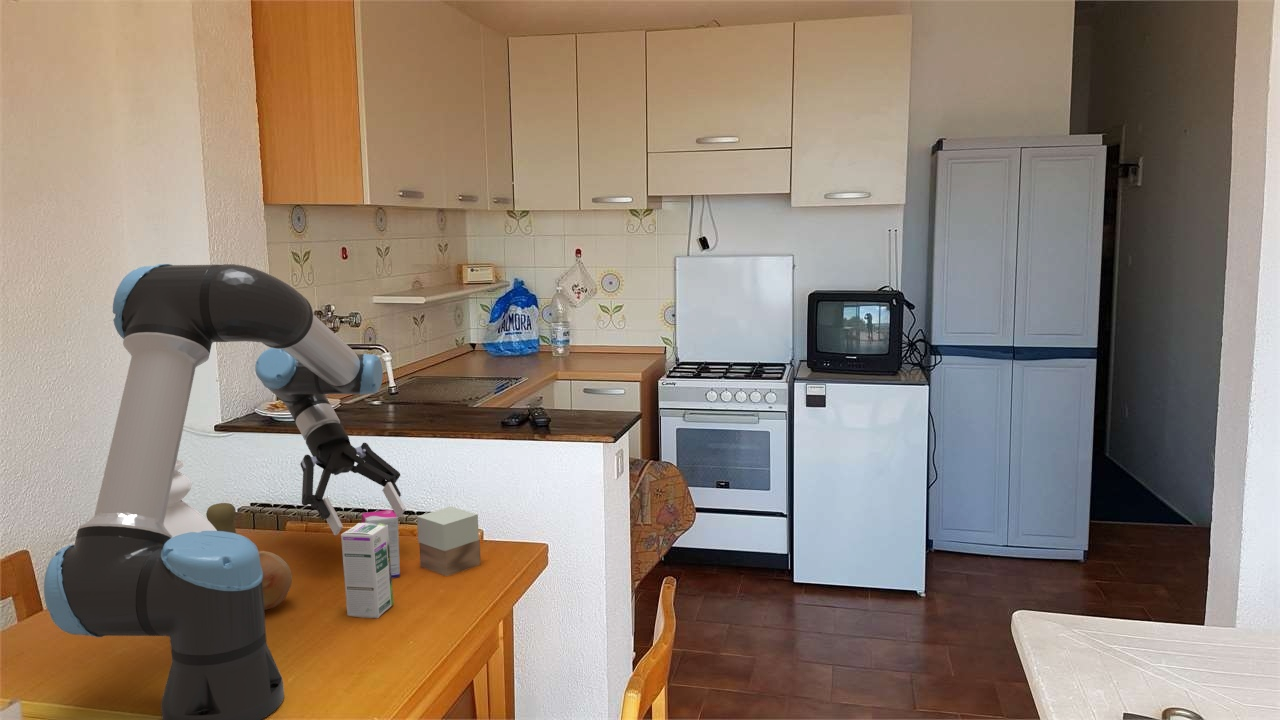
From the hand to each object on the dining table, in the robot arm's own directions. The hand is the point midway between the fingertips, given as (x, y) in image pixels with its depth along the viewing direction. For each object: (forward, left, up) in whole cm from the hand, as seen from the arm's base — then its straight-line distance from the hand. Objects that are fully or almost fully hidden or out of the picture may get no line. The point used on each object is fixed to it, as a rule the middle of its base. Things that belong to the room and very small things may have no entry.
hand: (371, 522), depth 180 cm
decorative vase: (-33, +11, -9) cm, 36 cm away
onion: (-23, -2, -9) cm, 25 cm away
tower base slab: (+10, -10, -9) cm, 17 cm away
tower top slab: (+10, -10, -4) cm, 15 cm away
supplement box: (-1, -4, -9) cm, 10 cm away
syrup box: (-12, -17, -9) cm, 23 cm away
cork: (-16, +27, -9) cm, 32 cm away
